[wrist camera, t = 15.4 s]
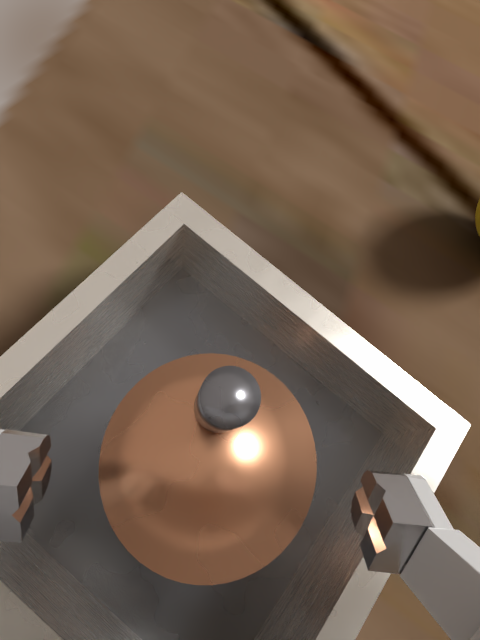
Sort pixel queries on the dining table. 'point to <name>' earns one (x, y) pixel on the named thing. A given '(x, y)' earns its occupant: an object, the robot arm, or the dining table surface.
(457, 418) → the open square box
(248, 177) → the dining table surface
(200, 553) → the copper upright cylinder
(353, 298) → the dining table surface
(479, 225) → the lemon
